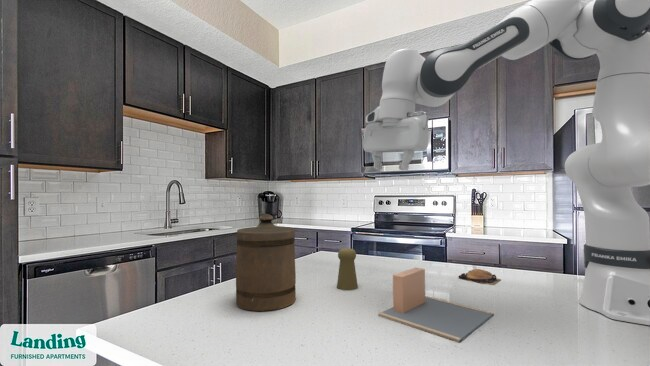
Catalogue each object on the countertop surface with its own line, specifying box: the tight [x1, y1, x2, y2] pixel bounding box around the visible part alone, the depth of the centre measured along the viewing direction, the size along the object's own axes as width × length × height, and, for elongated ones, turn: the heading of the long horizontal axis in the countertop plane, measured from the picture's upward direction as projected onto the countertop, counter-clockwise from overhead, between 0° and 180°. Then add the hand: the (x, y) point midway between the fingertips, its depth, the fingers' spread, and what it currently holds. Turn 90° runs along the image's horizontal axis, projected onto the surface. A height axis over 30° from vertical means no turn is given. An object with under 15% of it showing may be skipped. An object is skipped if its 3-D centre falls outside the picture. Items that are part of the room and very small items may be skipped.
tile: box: [392, 267, 426, 313], centre depth 76 cm, size 2×10×8 cm, turn 135°
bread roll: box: [458, 268, 502, 286], centre depth 99 cm, size 11×9×4 cm
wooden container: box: [235, 213, 297, 312], centre depth 81 cm, size 15×15×22 cm
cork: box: [336, 247, 359, 291], centre depth 92 cm, size 6×6×11 cm
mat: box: [377, 295, 495, 343], centre depth 71 cm, size 18×18×1 cm
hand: (389, 169), depth 81 cm, fingers open, 8 cm apart
